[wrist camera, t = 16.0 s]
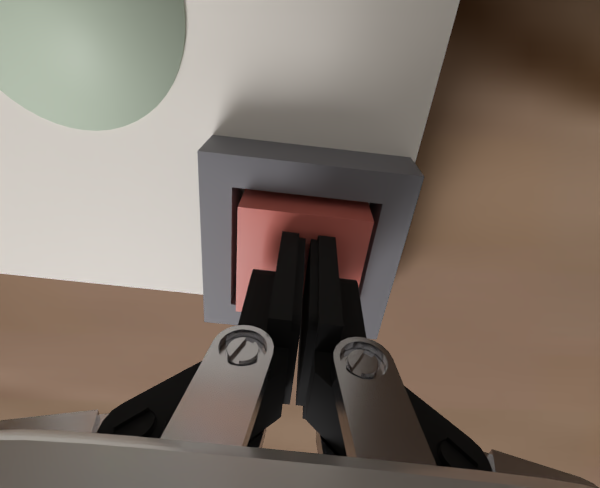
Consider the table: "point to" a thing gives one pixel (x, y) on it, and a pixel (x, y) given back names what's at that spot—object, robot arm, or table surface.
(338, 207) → the button
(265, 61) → the picture board
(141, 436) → the robot arm
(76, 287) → the table surface
